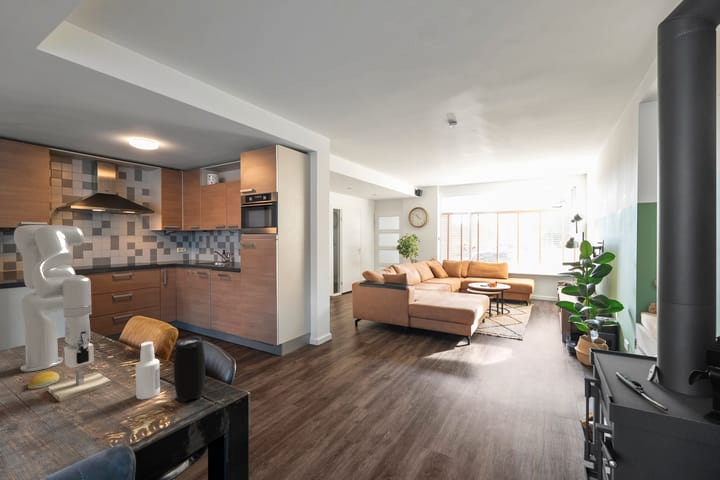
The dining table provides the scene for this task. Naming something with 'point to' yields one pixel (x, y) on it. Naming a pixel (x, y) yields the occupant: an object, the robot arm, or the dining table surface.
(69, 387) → the beige square plate
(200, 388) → the portable speaker
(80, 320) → the robot arm
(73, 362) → the white slotted cube
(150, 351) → the white plastic bottle
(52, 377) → the bread roll
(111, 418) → the dining table surface
